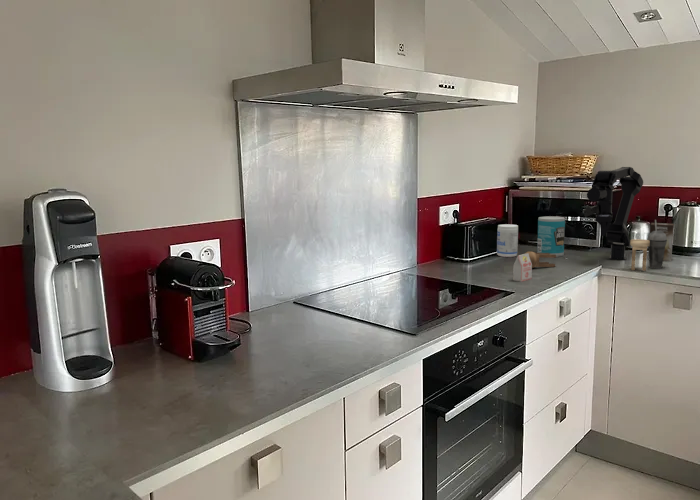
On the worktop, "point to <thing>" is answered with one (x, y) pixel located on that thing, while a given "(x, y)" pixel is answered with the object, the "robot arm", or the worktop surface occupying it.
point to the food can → (551, 235)
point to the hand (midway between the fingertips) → (603, 235)
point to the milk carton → (522, 268)
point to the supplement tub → (507, 240)
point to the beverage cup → (656, 248)
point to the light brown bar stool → (639, 245)
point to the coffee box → (668, 232)
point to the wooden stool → (535, 257)
